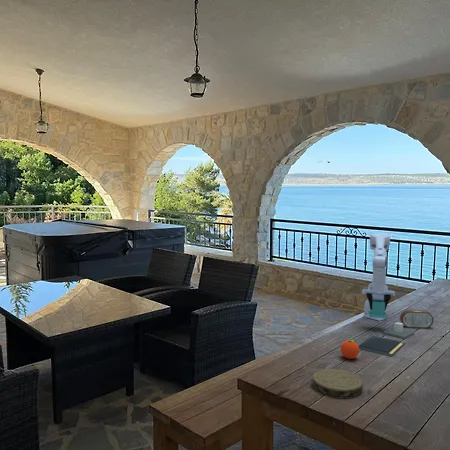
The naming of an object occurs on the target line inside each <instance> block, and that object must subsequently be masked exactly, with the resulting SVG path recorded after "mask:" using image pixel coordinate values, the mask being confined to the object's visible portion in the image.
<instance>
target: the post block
mask: <svg viewBox="0 0 450 450" xmlns="http://www.w3.org/2000/svg"><path fill="white" fill-rule="evenodd" d="M382 334H383V335H386V336H390V337H395V338H398V339H401V340H406V339H408V338H410V337H412V336H414V335H415V332H414V331H410V330H406V329H404V325H403V323H402V322H399V321H397V322H395V323H394V326H392V327H390V328H388V329H386V330H383V331H382Z"/></svg>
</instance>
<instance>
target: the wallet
mask: <svg viewBox="0 0 450 450" xmlns="http://www.w3.org/2000/svg"><path fill="white" fill-rule="evenodd" d="M405 345H406V343H405V342H402V341H399V340H395V339H392V338H391V339H390V338H386V337H381V336H378V335H372V336H370V337H368V338H367V339H366V340H365V341H363V342H362V343H360V344H358V347H359V350H360V351H365V352H370V353H374V354H377V355H381V356H386V357H391V358H393V357H394V356H395V355H396V354H397V353H398V352H399V351H400V350H401V349H402V348H403V347H404V346H405Z"/></svg>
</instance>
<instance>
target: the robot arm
mask: <svg viewBox="0 0 450 450" xmlns="http://www.w3.org/2000/svg"><path fill="white" fill-rule="evenodd" d="M390 245H391V234H390V233H379V232H378V233H377V232H376V233H375V232H371V233H370V234H369V248H370V250H372V251H373V257H372V264H371V265H372V282H371V283H369V284H368V285H367V289H366V288H365V289H364V288H363V289H362V290H361V294H362V295H366V297H367V299H365V302H364V304H363V305H364V307H363V308H364V309H363V315H362V317H363V318H366V319H371V320H376V321H380V322H381V321H383V320H386V319H387V318H380V317H370V316H369V314H368V311H371V310H372V300H373V299H376V300H384V302H385V312H386V311H387V307H388V304H389V302H390V300H391V299H392V297H395V296H396V291H395V290H388V289H389V287H388V285H387V284H386V278H387V276H386V275H387V269H388V255H387V251H389V248H390Z"/></svg>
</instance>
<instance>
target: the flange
mask: <svg viewBox="0 0 450 450" xmlns="http://www.w3.org/2000/svg"><path fill="white" fill-rule="evenodd" d="M368 314H369V316H370V317H380V318H386V319H389V316H388V314H387V313H386V311H385V302H384V300H376V299H373V300H372V310H371V311H368Z"/></svg>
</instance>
